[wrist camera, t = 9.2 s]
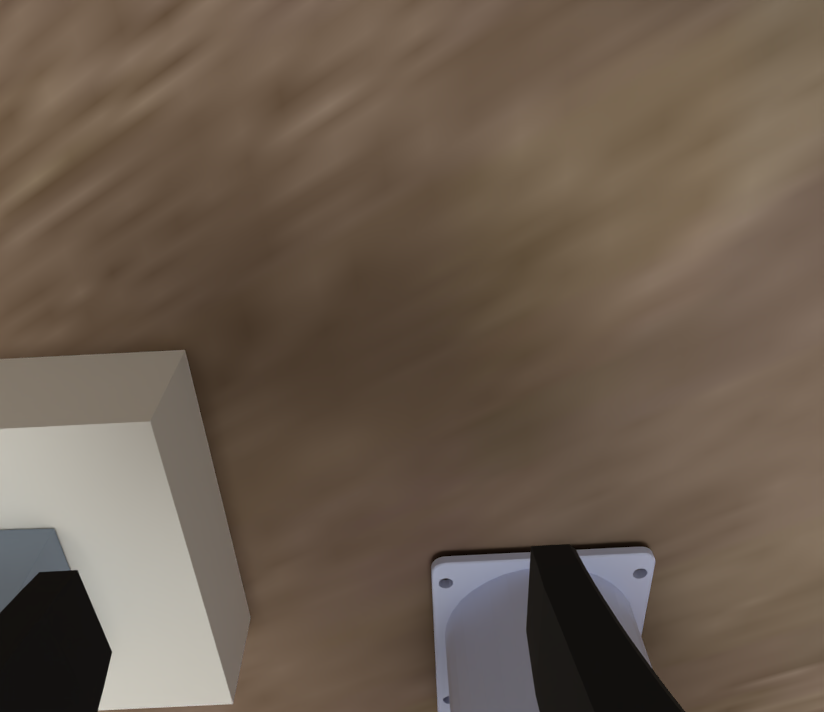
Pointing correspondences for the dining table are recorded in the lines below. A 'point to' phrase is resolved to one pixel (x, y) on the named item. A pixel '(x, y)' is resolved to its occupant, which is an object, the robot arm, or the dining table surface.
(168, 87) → the dining table surface
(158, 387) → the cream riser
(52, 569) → the blue cube
